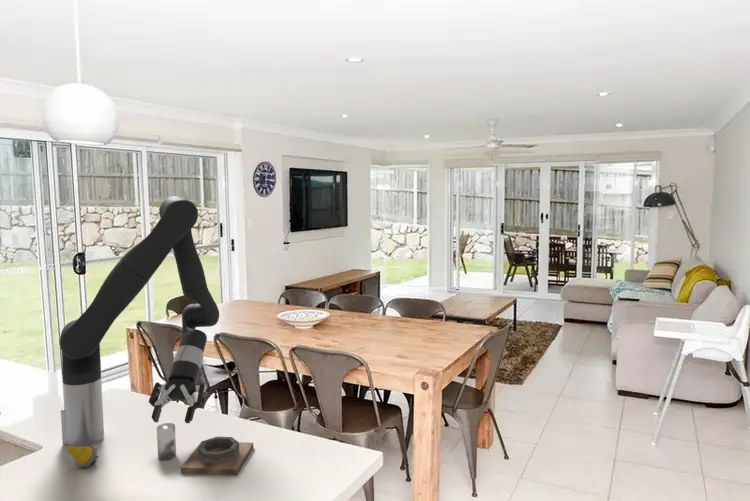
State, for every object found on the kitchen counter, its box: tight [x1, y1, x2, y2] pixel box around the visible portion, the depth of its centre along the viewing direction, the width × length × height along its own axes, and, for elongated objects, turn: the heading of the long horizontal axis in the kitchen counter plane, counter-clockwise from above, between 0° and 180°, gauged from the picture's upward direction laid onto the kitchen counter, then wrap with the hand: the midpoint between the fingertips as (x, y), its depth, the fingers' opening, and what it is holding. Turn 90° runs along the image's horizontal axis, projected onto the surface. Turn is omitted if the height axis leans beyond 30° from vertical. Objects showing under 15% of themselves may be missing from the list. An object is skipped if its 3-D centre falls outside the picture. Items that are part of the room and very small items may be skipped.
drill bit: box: [64, 445, 100, 469], centre depth 135 cm, size 5×5×10 cm
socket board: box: [180, 436, 254, 476], centre depth 139 cm, size 14×14×4 cm
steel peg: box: [156, 422, 177, 461], centre depth 141 cm, size 4×4×8 cm
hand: (171, 421), depth 143 cm, fingers open, 8 cm apart
